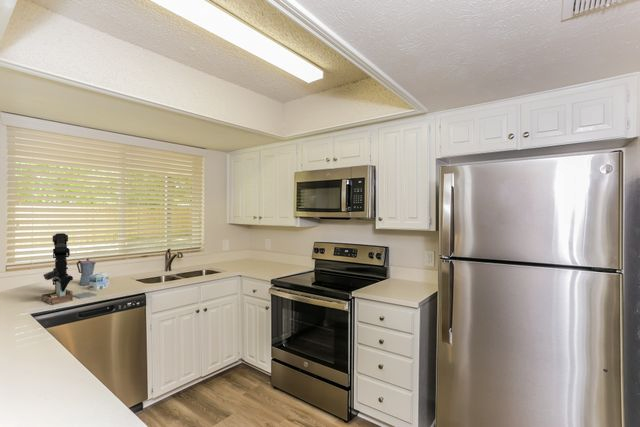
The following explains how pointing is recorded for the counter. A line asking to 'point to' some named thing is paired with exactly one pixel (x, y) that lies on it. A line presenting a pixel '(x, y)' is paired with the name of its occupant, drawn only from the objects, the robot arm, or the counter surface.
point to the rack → (58, 299)
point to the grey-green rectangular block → (59, 290)
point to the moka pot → (86, 271)
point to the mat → (84, 295)
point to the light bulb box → (99, 281)
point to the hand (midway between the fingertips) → (60, 290)
